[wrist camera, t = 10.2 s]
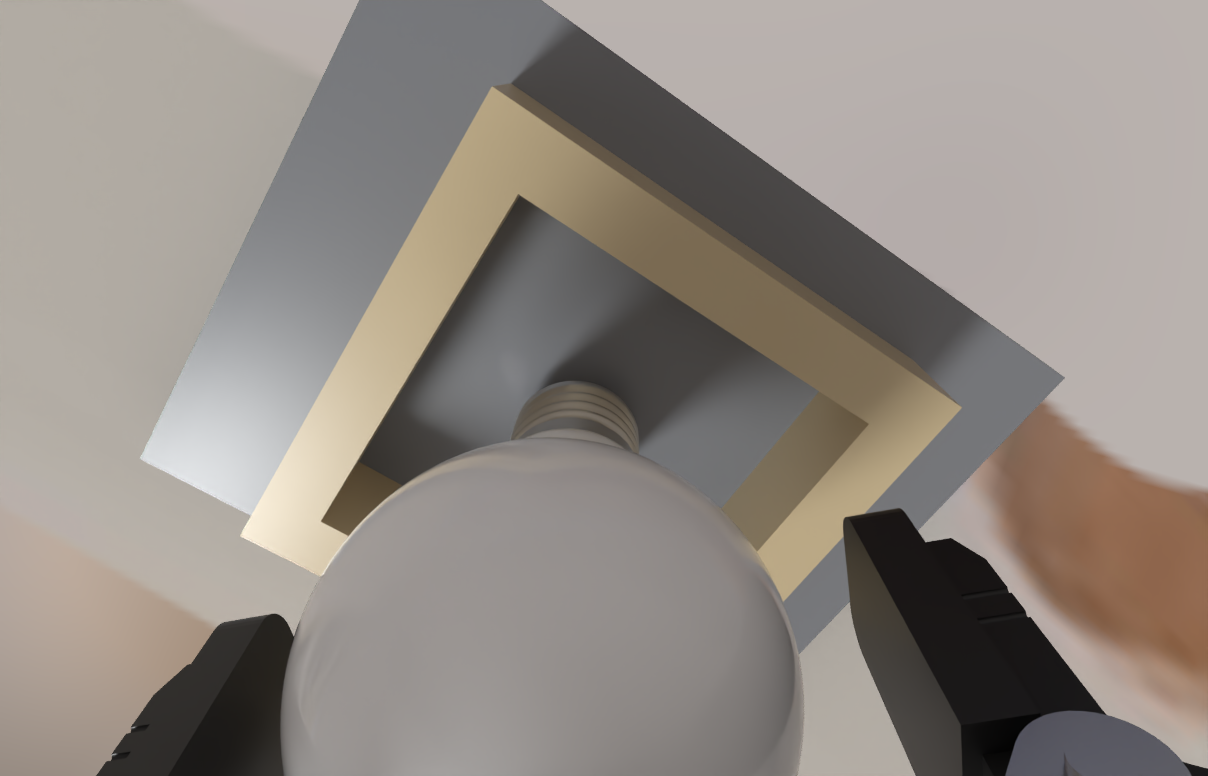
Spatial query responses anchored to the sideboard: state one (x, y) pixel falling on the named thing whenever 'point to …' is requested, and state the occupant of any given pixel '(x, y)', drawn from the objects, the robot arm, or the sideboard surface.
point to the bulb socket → (570, 305)
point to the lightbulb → (545, 621)
